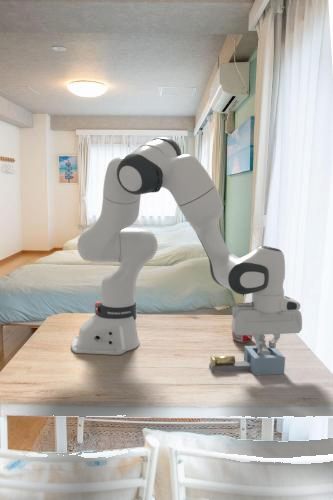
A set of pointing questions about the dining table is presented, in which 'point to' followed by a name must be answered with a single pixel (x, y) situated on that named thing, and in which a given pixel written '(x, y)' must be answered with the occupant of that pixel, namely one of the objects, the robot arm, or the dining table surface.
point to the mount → (255, 362)
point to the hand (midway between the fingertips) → (265, 347)
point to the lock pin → (222, 360)
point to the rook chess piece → (264, 350)
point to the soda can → (241, 337)
